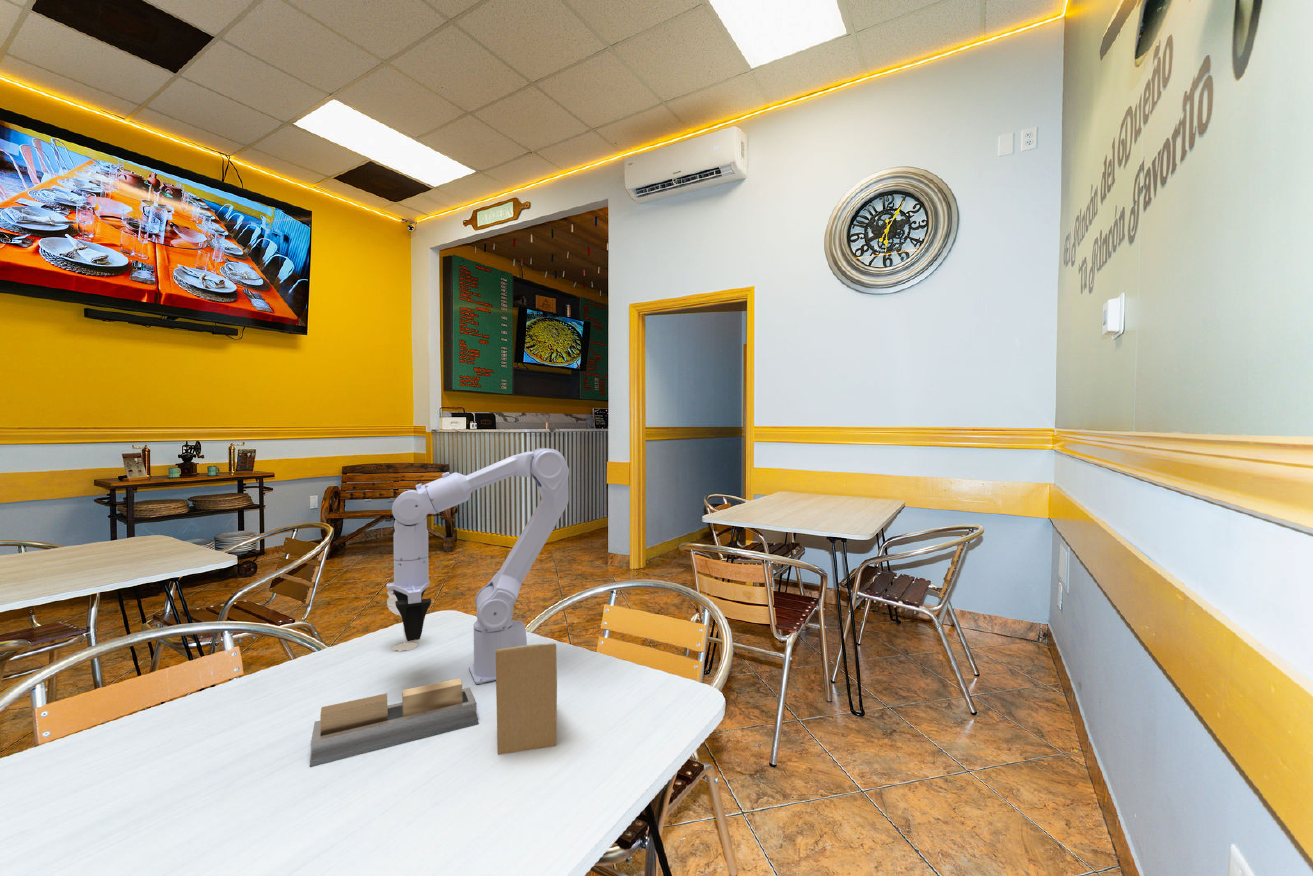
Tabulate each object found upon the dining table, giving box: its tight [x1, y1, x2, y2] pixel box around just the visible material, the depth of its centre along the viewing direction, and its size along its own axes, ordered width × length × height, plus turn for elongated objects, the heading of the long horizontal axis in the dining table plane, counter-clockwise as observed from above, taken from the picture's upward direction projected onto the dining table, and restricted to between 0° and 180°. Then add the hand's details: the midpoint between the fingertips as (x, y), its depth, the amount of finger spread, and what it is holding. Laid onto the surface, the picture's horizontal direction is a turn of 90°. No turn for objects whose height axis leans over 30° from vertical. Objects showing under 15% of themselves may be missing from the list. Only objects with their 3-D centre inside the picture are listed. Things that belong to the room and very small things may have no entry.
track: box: [309, 687, 479, 767], centre depth 82 cm, size 22×9×5 cm, turn 119°
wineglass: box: [386, 589, 419, 652], centre depth 114 cm, size 7×7×12 cm
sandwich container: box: [495, 642, 558, 755], centre depth 83 cm, size 9×15×15 cm, turn 14°
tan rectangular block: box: [401, 677, 463, 717], centre depth 84 cm, size 8×2×4 cm, turn 119°
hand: (411, 632), depth 96 cm, fingers open, 7 cm apart
